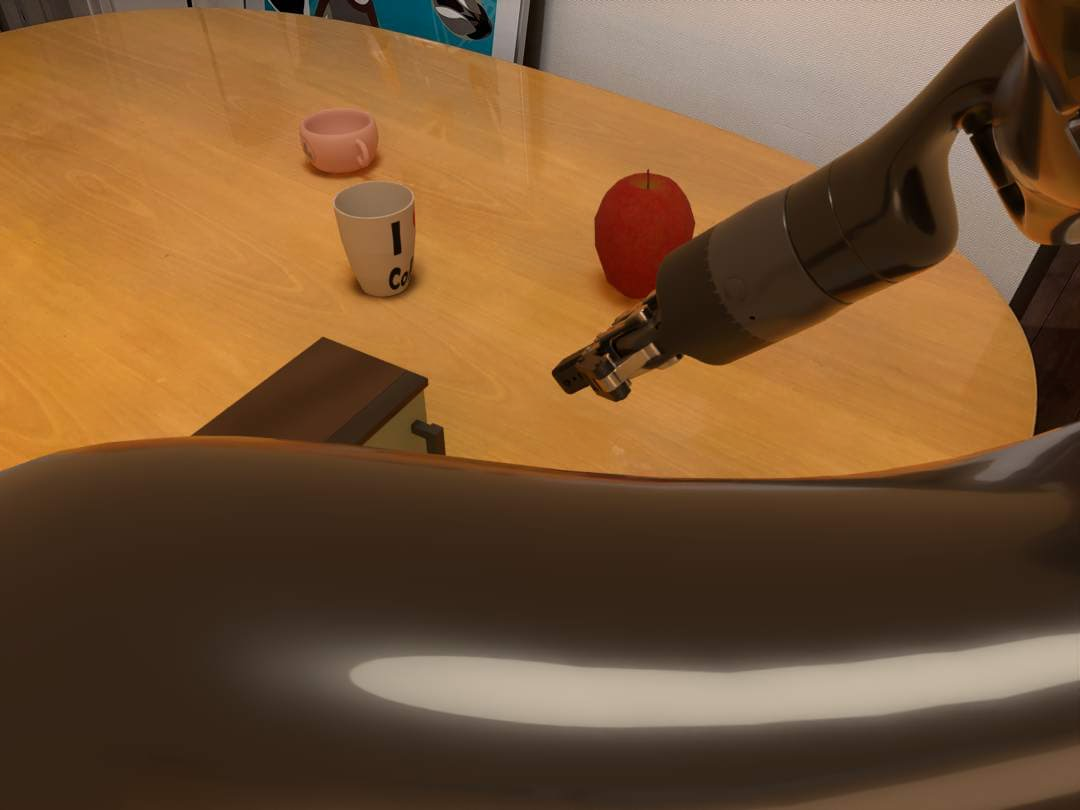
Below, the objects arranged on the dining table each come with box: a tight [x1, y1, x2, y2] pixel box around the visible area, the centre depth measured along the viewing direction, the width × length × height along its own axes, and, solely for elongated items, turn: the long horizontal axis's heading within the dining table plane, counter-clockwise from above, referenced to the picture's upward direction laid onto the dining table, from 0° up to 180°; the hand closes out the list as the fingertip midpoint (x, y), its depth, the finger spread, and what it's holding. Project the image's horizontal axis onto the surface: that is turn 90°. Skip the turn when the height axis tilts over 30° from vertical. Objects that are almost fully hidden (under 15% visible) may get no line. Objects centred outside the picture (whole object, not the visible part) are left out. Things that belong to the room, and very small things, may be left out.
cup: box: [332, 180, 417, 298], centre depth 92 cm, size 8×8×10 cm
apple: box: [593, 168, 696, 300], centre depth 90 cm, size 10×10×14 cm
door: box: [362, 389, 447, 456], centre depth 64 cm, size 3×8×10 cm, turn 149°
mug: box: [298, 107, 379, 174], centre depth 115 cm, size 12×10×6 cm
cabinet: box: [190, 336, 429, 446], centre depth 63 cm, size 10×16×12 cm, turn 149°
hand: (564, 378), depth 62 cm, fingers closed
